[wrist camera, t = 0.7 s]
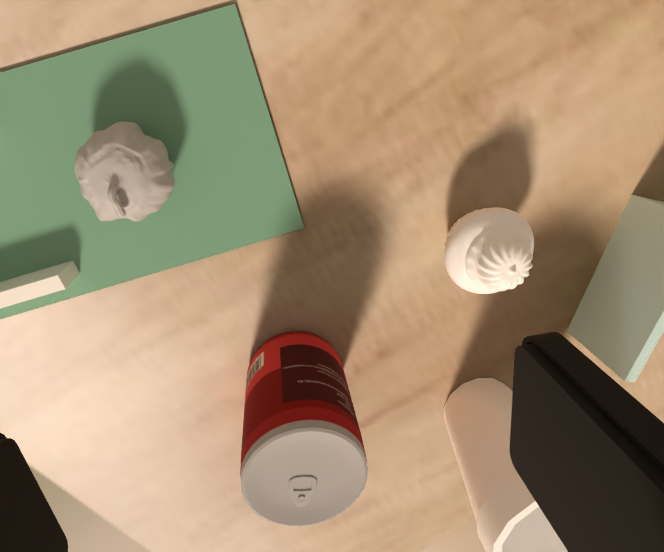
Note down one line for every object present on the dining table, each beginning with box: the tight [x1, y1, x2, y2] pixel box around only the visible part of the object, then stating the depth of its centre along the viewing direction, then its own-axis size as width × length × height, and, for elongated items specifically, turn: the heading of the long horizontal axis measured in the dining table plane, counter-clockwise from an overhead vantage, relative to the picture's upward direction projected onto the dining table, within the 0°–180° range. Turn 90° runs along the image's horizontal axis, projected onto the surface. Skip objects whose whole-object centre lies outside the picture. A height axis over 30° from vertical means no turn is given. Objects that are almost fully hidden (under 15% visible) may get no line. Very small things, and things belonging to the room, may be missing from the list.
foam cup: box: [444, 378, 568, 552], centre depth 35 cm, size 10×9×13 cm
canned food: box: [240, 331, 368, 526], centre depth 32 cm, size 8×8×11 cm
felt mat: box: [0, 4, 304, 319], centre depth 29 cm, size 26×14×1 cm, turn 105°
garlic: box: [74, 122, 175, 222], centre depth 27 cm, size 6×5×5 cm
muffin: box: [444, 207, 534, 294], centre depth 31 cm, size 6×6×7 cm
